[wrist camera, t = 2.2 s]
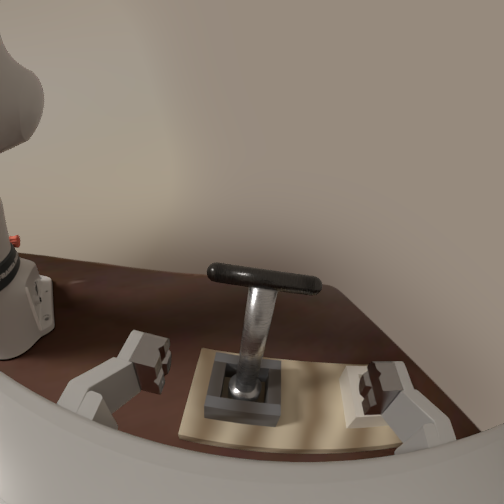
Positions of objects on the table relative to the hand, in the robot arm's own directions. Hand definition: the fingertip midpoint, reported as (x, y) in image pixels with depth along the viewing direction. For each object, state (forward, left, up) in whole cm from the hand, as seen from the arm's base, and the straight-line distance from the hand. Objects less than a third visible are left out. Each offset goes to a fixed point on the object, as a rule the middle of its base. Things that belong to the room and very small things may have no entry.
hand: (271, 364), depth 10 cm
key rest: (-3, +21, -21) cm, 30 cm away
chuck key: (-11, +6, -21) cm, 25 cm away
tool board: (-7, +13, -23) cm, 27 cm away
